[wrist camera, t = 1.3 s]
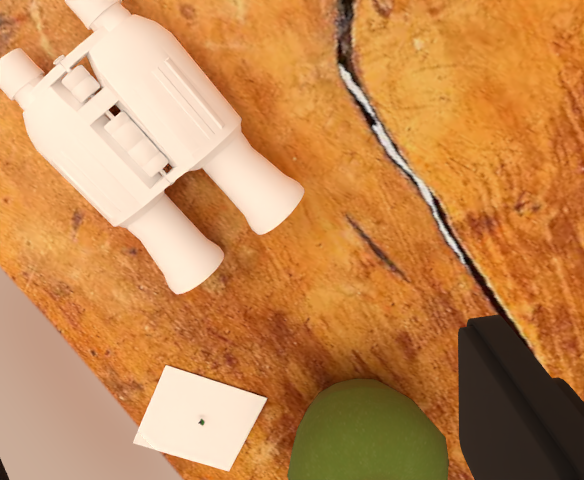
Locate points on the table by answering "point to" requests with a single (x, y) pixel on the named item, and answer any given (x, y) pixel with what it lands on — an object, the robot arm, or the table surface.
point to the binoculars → (144, 136)
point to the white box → (198, 418)
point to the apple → (367, 437)
